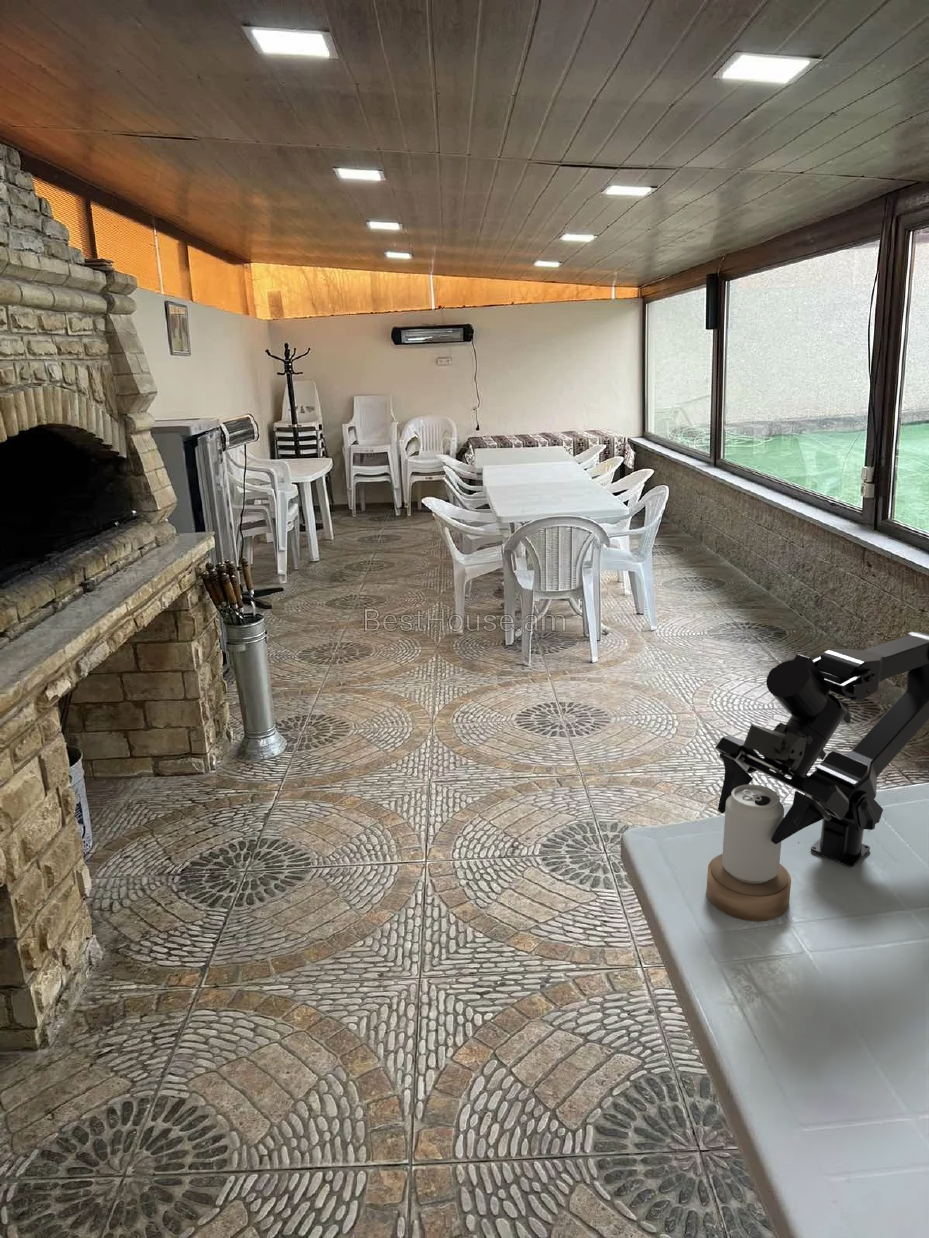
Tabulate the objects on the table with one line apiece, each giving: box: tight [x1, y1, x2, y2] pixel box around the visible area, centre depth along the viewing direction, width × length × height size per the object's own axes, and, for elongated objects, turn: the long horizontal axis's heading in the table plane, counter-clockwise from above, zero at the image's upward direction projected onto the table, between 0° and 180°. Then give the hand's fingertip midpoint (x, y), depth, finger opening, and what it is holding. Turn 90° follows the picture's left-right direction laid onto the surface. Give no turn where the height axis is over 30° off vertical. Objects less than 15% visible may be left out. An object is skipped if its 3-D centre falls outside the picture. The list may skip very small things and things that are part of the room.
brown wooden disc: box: [706, 853, 792, 922], centre depth 120 cm, size 11×11×4 cm
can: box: [721, 783, 785, 884], centre depth 117 cm, size 8×8×12 cm
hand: (745, 826), depth 116 cm, fingers open, 9 cm apart
